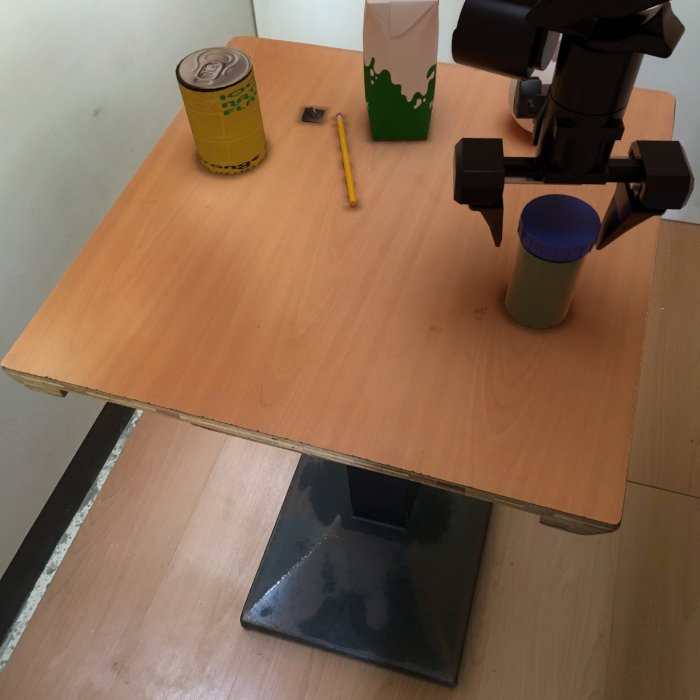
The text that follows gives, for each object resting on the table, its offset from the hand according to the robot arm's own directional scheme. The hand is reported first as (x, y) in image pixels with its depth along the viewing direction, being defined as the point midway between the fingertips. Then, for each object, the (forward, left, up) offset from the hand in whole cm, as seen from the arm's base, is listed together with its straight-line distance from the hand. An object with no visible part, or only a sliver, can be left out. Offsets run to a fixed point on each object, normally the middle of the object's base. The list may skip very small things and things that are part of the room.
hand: (547, 245), depth 60 cm
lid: (-1, 0, +3) cm, 3 cm away
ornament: (-2, -31, -9) cm, 32 cm away
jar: (-1, 0, -9) cm, 9 cm away
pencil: (+23, -22, -9) cm, 33 cm away
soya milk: (+17, -30, -9) cm, 36 cm away
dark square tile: (+29, -31, -9) cm, 43 cm away
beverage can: (+38, -22, -9) cm, 45 cm away
